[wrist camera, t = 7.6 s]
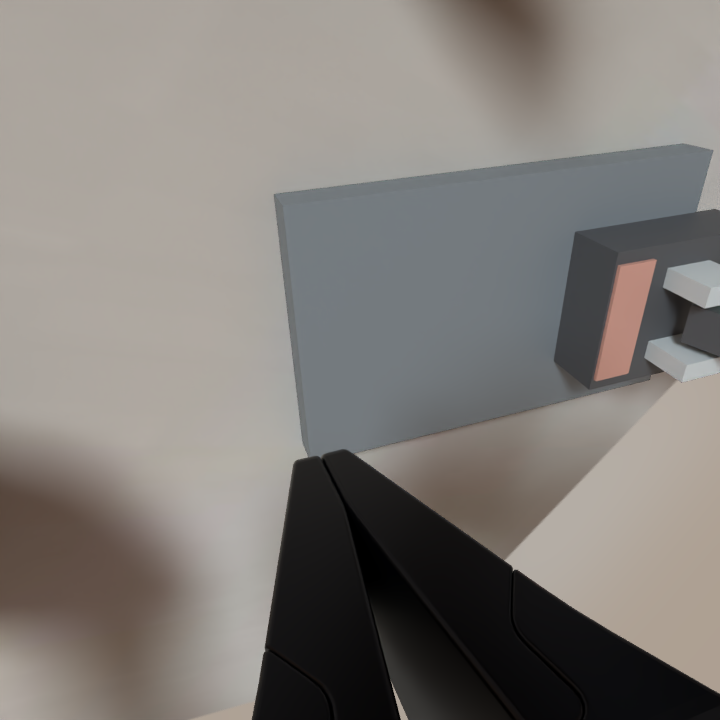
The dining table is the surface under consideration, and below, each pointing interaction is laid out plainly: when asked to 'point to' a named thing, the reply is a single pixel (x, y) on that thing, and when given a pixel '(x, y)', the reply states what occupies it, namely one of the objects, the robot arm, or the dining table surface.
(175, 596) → the dining table surface
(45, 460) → the dining table surface
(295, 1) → the dining table surface
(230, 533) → the dining table surface
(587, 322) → the switch box
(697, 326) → the lever
